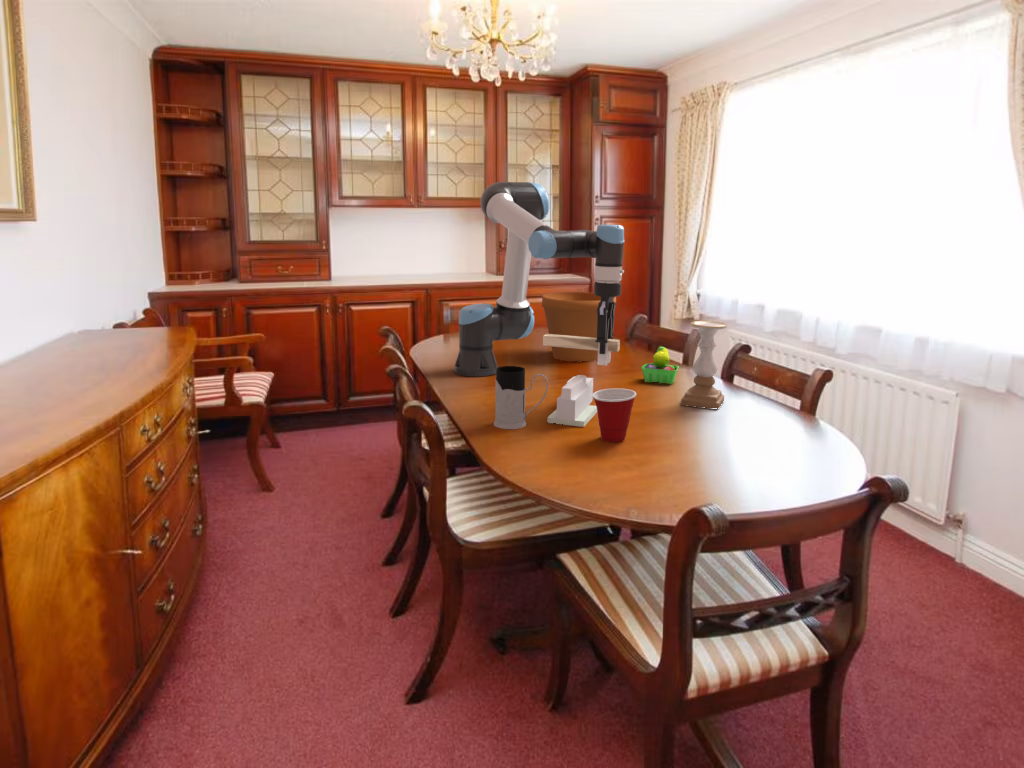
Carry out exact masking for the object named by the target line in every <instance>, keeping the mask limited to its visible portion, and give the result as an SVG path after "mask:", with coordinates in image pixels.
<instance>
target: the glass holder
mask: <svg viewBox="0 0 1024 768" xmlns="http://www.w3.org/2000/svg"><path fill="white" fill-rule="evenodd" d="M539 376H542V377H543V378H545V380H546V386H545V387H546V389H545V392H544V394H543V397H542V398H541V400H540V401H538V403H536V404H535V405H534V406H532V407H531V408H530V409H529V410H528V411H527V412H526V391H530V390H532V388H533V382H534V379H535V378H536V377H539ZM530 381H531V382H530V387H529V388H526V385H525V383H526V368H524V367H522V366H517V365H504V366H499V367H498V368H497V369H496V374H495V393H494V394H495V399H494V400H495V408H494V409H495V414H494V415H495V416H494V417H495V419H494V422H493V426H494V427H496V428H498V429H503V430H519V429H522V427H523V428H525V427H527V425H526V424H527V422H526V418H527V415H528V414H529V413H531V412H532V411H533V410H535V408H537V407H538V406H539V405H540V404H541V403H542V402H543V401H544V399H545V398H546V396H547V393H548V388H549V379H548V377H547V376H546V375H544V374H542V373H537V374H535V375H533V376H532V378H531V380H530ZM524 426H525V427H524ZM518 428H519V429H518Z"/></svg>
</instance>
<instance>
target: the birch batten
mask: <svg viewBox="0 0 1024 768" xmlns="http://www.w3.org/2000/svg"><path fill="white" fill-rule="evenodd" d="M596 340H597V338H591V337H579V336H567V335H554V334H549V333H545V334H544V335H543V334H542V346H544V347H551V346H552V347H564V348H575V349H587V350H598V342H596ZM607 343H608V351H609V352H612V353H618V352H619V351H620V347H621V346H620V345H621V340H620V339H615V338H614V339H608V342H607ZM552 347H551V348H552Z"/></svg>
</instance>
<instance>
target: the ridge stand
mask: <svg viewBox="0 0 1024 768" xmlns="http://www.w3.org/2000/svg"><path fill="white" fill-rule="evenodd" d="M573 377H574V376H573ZM586 378H587V375H584V374H577V375H576V376H575V377H574V378H573V379H572V380H571V381H570V382H568V381H567V382H568V383H567V384H564V386H563V387H561V394H560V395H559V396H558V397H557V398H556V409H555V410H554V411H553V412H552V413H550V414H549V415H548V416H547V421H546V423H547V422H548V424H553V423H556V425H562V424H563V426H571V427H581V428H584V427H586V425H587V424H588V423H589V422H590V421H591V419H593V417H594V416H595V415H596V414H598V412H597V407H596V405H591V403H590V386H586Z"/></svg>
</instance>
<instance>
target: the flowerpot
mask: <svg viewBox="0 0 1024 768" xmlns="http://www.w3.org/2000/svg"><path fill="white" fill-rule="evenodd" d="M613 299H614V301H613V302H616V303H617V297H613ZM600 301H601V297H600V296H596V295H595V294H594V292H584V291H581V292H579V291H567V292H566V291H565V292H564V291H563V292H561V291H559V292H550V293H549V292H548V293H544V294H542V295H541V307H542V308H543V310H544V316H545V321H546V326H547V332H548V334H554V335H567V336H579V337H591V338H597V317H598V315H597V308H598V305H599V302H600ZM616 307H617V305H615V309H616ZM550 347H551V353H552V357H553V358H554V359H555V360H558V359H560V360H559V361H563V360H565V361H564V362H570V361H577V362H576V363H580V362H581V363H583V362H582V361H589V362H595V361H594V360H596V361H598V350H587V349H575V348H564V347H552V346H550Z"/></svg>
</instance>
